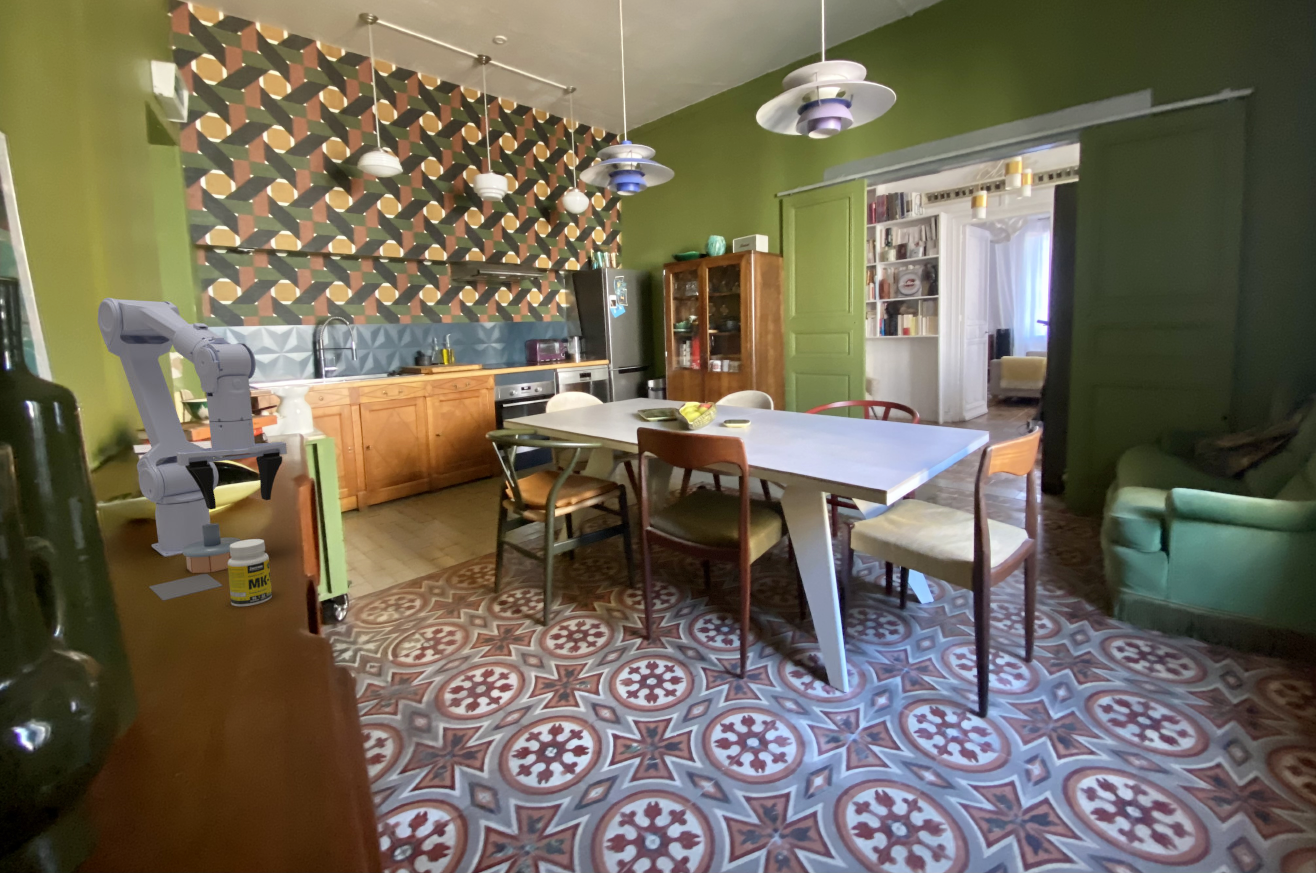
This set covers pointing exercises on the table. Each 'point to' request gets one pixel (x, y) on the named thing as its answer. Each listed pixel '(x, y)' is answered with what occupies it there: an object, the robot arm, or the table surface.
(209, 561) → the bowl
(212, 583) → the mat
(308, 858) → the table surface
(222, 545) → the lid
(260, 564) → the supplement bottle
